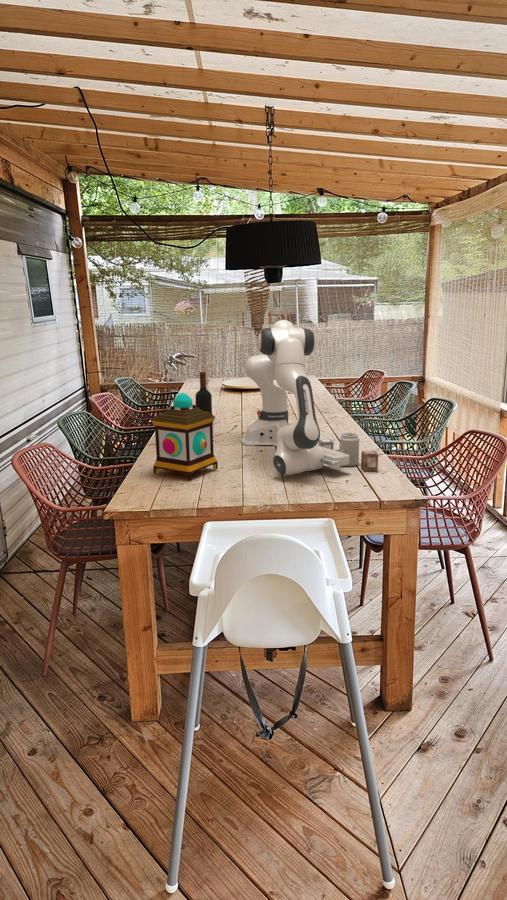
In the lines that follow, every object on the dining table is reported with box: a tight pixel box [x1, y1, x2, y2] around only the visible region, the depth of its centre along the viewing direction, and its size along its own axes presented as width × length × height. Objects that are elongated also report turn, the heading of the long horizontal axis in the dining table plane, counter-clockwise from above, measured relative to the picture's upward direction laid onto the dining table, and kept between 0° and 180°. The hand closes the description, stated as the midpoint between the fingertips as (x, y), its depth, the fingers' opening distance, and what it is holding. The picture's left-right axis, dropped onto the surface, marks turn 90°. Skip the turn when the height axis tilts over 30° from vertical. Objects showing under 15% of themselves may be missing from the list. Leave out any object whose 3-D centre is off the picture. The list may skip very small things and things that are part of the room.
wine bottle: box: [195, 371, 213, 414], centre depth 275 cm, size 8×8×30 cm
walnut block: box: [360, 450, 379, 474], centre depth 216 cm, size 5×5×7 cm
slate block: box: [318, 438, 334, 450], centre depth 234 cm, size 5×5×7 cm
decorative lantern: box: [151, 392, 219, 482], centre depth 215 cm, size 20×20×30 cm
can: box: [339, 432, 360, 467], centre depth 224 cm, size 8×8×12 cm
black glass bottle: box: [203, 365, 221, 425], centre depth 304 cm, size 13×13×30 cm
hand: (341, 452), depth 222 cm, fingers closed, pressing on can
